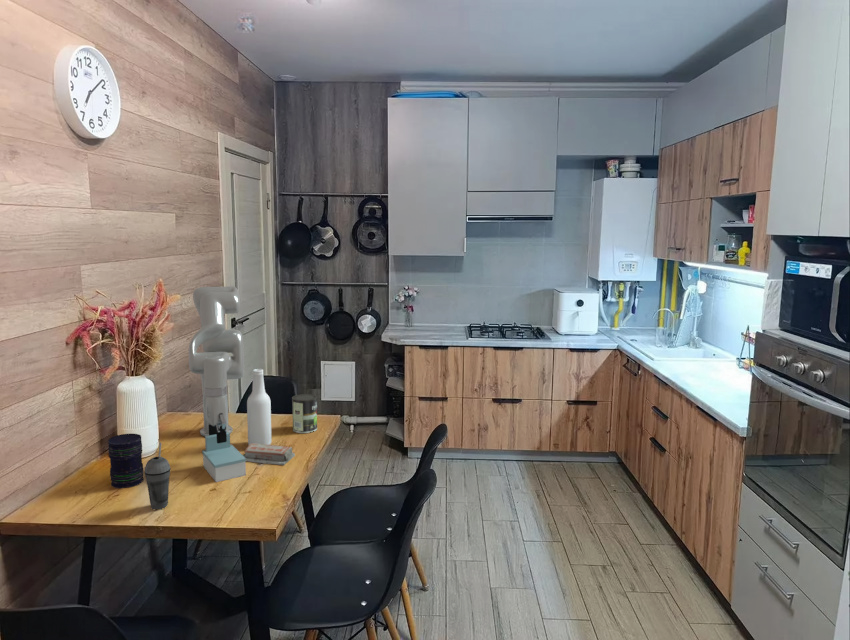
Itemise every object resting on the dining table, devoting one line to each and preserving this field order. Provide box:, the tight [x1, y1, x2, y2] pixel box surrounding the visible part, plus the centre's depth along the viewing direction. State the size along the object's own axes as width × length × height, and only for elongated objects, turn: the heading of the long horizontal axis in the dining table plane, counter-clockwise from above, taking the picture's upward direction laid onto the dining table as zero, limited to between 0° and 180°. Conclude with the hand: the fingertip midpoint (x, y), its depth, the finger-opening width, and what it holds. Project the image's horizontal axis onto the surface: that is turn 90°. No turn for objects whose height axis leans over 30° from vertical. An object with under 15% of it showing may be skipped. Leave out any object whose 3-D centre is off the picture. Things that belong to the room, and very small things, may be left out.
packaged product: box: [242, 443, 296, 466], centre depth 213 cm, size 18×5×10 cm
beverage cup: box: [143, 442, 172, 511], centre depth 174 cm, size 7×7×20 cm
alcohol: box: [246, 368, 272, 445], centre depth 224 cm, size 9×9×30 cm
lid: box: [201, 432, 247, 468], centre depth 200 cm, size 15×10×6 cm
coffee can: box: [291, 393, 318, 434], centre depth 244 cm, size 10×10×14 cm
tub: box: [202, 454, 247, 483], centre depth 201 cm, size 15×10×5 cm, turn 36°
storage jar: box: [107, 433, 145, 489], centre depth 190 cm, size 10×10×15 cm
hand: (217, 438), depth 205 cm, fingers open, 9 cm apart
